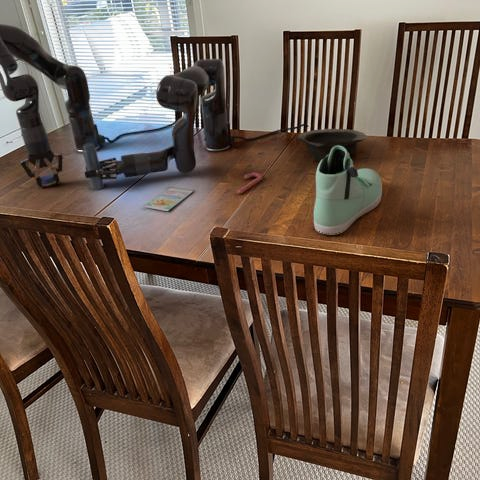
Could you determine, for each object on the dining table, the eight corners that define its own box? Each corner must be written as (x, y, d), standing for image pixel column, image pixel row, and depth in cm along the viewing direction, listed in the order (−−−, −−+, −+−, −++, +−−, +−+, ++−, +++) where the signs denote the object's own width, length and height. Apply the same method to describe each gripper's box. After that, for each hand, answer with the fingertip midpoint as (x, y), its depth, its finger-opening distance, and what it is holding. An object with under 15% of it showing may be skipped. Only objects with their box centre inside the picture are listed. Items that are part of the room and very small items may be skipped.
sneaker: (389, 187, 148) (396, 123, 138) (356, 242, 123) (361, 168, 112) (346, 181, 154) (350, 119, 144) (306, 232, 129) (307, 161, 118)
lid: (58, 179, 168) (57, 175, 167) (47, 185, 165) (46, 180, 164) (49, 177, 170) (47, 173, 169) (38, 183, 167) (36, 178, 166)
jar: (89, 187, 165) (78, 145, 157) (100, 183, 167) (90, 141, 159) (95, 191, 162) (85, 148, 154) (106, 186, 164) (97, 144, 156)
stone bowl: (324, 173, 160) (323, 146, 156) (284, 156, 180) (283, 132, 176) (382, 155, 169) (382, 129, 165) (338, 140, 189) (337, 117, 185)
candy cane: (225, 192, 154) (224, 187, 153) (251, 174, 164) (250, 170, 163) (240, 195, 151) (240, 191, 150) (265, 177, 161) (265, 173, 160)
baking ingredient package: (143, 206, 148) (170, 186, 159) (143, 207, 148) (170, 188, 159) (167, 210, 144) (192, 190, 156) (167, 211, 144) (193, 191, 156)
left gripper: (12, 145, 154) (28, 193, 163) (58, 137, 158) (71, 184, 167) (12, 138, 160) (27, 185, 169) (57, 131, 164) (69, 176, 173)
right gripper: (134, 147, 167) (84, 154, 165) (135, 162, 155) (81, 169, 153) (138, 167, 171) (89, 174, 169) (139, 183, 159) (86, 191, 157)
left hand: (49, 184), depth 168 cm, fingers closed on lid, 4 cm apart
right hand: (85, 172), depth 161 cm, fingers closed on jar, 4 cm apart
